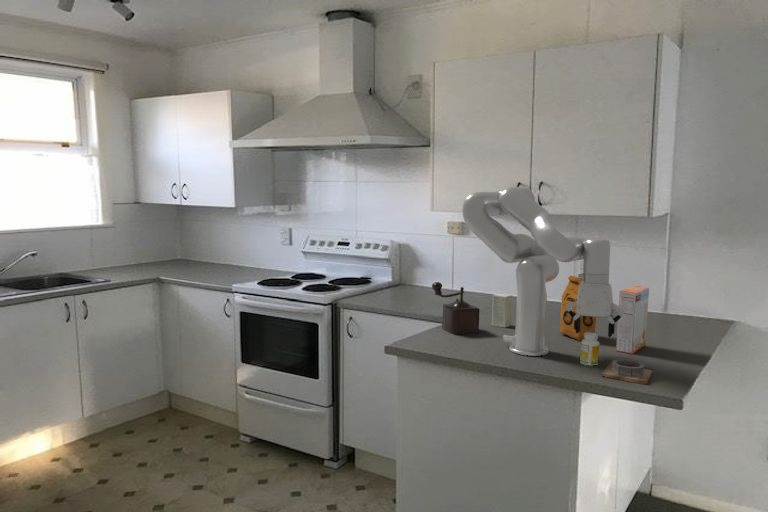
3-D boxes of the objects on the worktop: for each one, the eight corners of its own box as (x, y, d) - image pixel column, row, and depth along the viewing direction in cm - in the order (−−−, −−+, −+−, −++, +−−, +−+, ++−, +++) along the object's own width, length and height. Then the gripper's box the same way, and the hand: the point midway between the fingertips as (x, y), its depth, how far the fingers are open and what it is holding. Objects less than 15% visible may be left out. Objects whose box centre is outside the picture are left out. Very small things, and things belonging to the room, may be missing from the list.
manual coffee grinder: (464, 326, 237) (467, 279, 234) (479, 333, 226) (481, 285, 224) (428, 328, 231) (430, 281, 229) (441, 336, 221) (443, 286, 219)
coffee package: (575, 342, 217) (579, 280, 215) (555, 333, 229) (559, 275, 226) (599, 340, 220) (603, 280, 218) (578, 332, 232) (582, 274, 229)
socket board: (601, 376, 179) (602, 365, 179) (609, 366, 190) (610, 355, 189) (646, 384, 174) (647, 372, 173) (651, 373, 184) (652, 362, 183)
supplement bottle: (579, 365, 190) (582, 335, 189) (579, 360, 195) (581, 331, 194) (598, 367, 189) (600, 336, 187) (597, 362, 194) (599, 332, 192)
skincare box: (510, 326, 239) (512, 295, 237) (504, 328, 236) (506, 296, 234) (497, 323, 243) (498, 292, 241) (490, 325, 240) (492, 294, 238)
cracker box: (628, 343, 218) (632, 284, 216) (645, 346, 215) (650, 287, 212) (614, 351, 208) (618, 289, 205) (632, 354, 204) (637, 292, 201)
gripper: (564, 278, 189) (562, 333, 191) (623, 282, 181) (621, 340, 183) (570, 275, 196) (568, 328, 198) (628, 279, 187) (625, 335, 189)
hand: (593, 334), depth 190 cm, fingers open, 9 cm apart
